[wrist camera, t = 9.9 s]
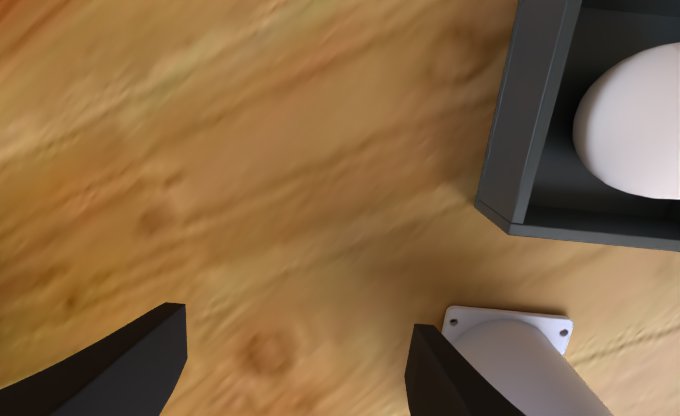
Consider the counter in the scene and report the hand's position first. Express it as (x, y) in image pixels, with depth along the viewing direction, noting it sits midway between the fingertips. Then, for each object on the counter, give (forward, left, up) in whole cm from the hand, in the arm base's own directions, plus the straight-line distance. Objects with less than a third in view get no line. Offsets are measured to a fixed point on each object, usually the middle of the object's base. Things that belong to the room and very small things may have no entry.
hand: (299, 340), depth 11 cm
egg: (+8, -14, -10) cm, 19 cm away
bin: (+8, -14, -10) cm, 19 cm away
